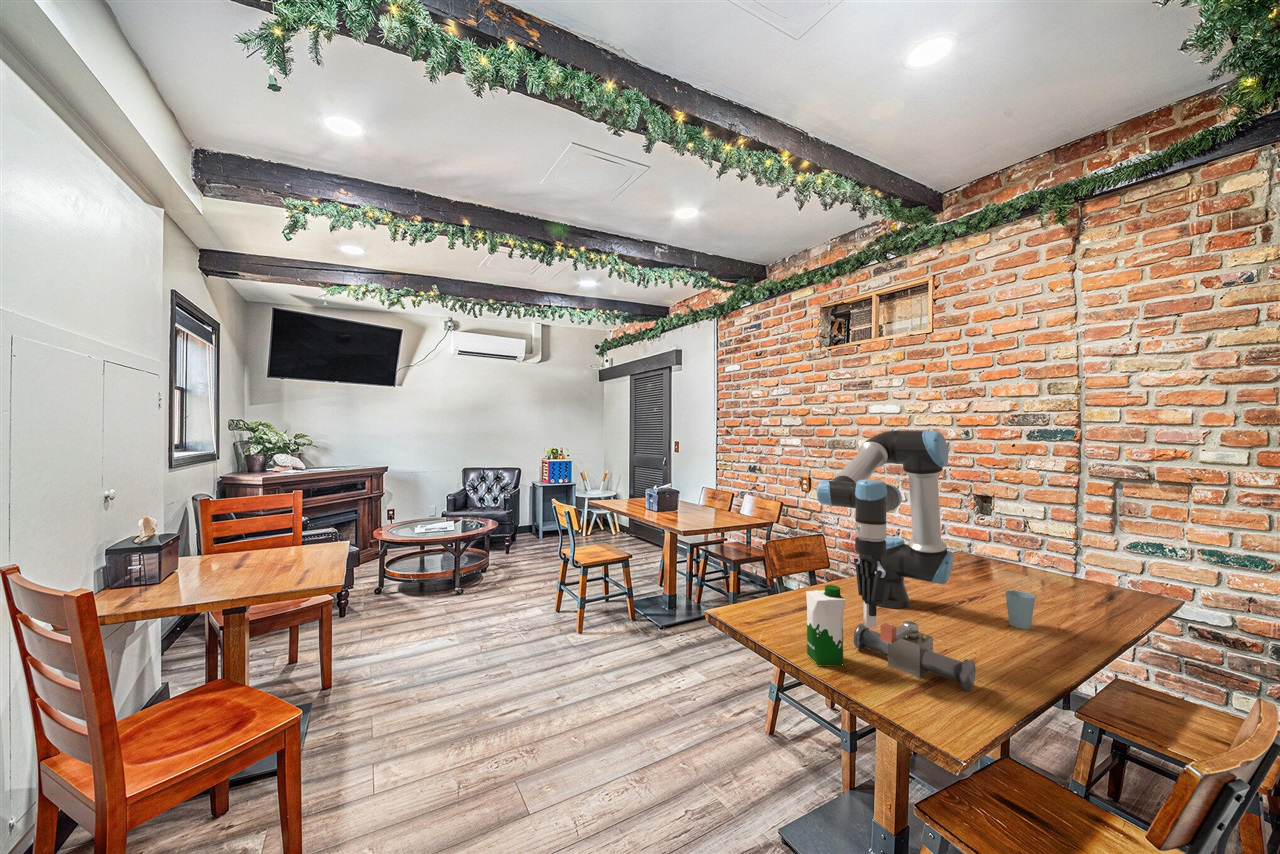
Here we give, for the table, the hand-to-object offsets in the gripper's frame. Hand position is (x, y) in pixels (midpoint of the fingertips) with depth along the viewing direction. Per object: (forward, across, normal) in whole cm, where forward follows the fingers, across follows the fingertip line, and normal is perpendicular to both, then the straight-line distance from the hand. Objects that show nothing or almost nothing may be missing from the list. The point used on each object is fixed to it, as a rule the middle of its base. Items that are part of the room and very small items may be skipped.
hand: (869, 626), depth 128 cm
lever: (+1, +3, +6) cm, 7 cm away
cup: (+11, -24, +65) cm, 70 cm away
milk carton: (+11, -5, -10) cm, 16 cm away
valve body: (+11, 0, +11) cm, 16 cm away
